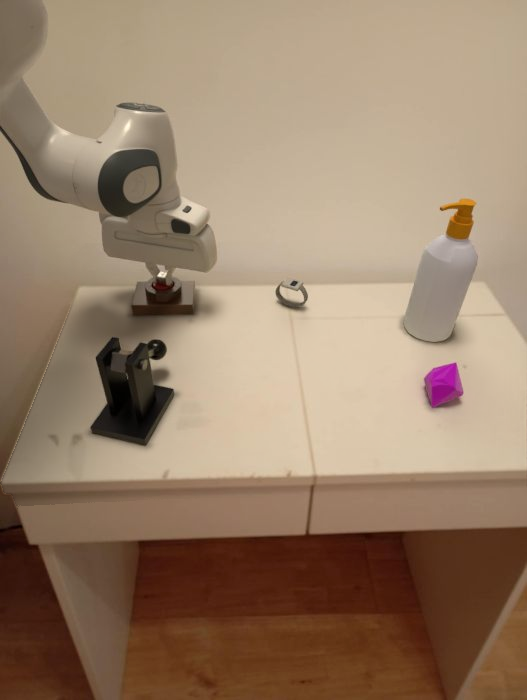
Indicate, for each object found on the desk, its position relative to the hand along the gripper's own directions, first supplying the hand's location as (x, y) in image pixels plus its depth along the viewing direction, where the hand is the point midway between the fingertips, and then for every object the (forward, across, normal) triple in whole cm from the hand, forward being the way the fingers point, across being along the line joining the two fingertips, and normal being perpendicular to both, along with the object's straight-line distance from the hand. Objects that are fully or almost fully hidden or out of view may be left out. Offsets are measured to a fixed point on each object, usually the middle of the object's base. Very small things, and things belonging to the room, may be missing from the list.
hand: (163, 283), depth 86 cm
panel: (+4, 0, 0) cm, 4 cm away
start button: (+2, 0, 0) cm, 2 cm away
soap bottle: (+4, +48, +6) cm, 48 cm away
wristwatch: (+4, +23, +6) cm, 24 cm away
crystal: (+4, +50, -11) cm, 51 cm away
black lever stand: (+4, +7, -27) cm, 28 cm away
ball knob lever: (-2, +7, -24) cm, 25 cm away
